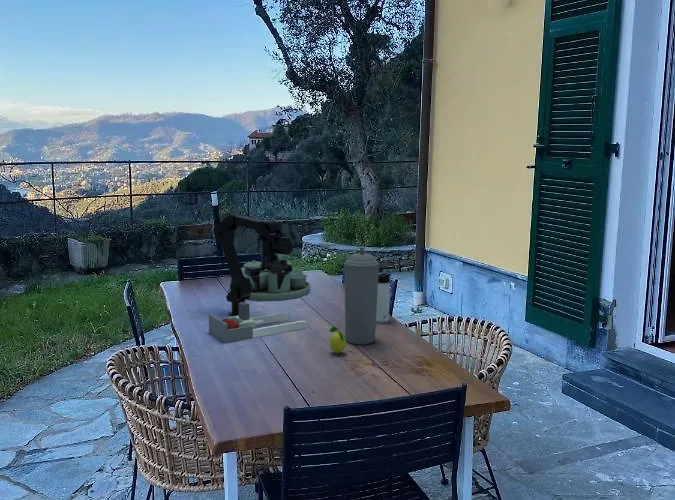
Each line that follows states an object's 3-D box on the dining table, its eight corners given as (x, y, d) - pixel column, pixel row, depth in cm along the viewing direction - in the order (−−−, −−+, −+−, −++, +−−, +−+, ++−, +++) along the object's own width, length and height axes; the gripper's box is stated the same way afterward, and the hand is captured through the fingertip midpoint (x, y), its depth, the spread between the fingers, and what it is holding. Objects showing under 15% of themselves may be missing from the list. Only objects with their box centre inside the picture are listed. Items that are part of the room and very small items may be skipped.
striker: (229, 329, 230) (228, 301, 228) (257, 324, 237) (256, 297, 235) (240, 336, 222) (239, 307, 220) (269, 331, 229) (269, 303, 227)
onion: (235, 327, 230) (215, 332, 226) (235, 314, 228) (215, 319, 224) (241, 335, 226) (221, 340, 222) (241, 322, 224) (221, 327, 219)
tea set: (324, 289, 302) (325, 256, 299) (276, 306, 268) (276, 270, 265) (262, 279, 322) (262, 249, 319) (210, 294, 288) (209, 260, 285)
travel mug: (388, 324, 242) (390, 275, 238) (372, 323, 243) (373, 274, 240) (390, 320, 248) (391, 272, 244) (374, 318, 249) (375, 271, 246)
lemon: (329, 350, 210) (329, 322, 209) (345, 350, 210) (346, 322, 208) (328, 356, 204) (328, 328, 202) (345, 356, 203) (346, 328, 202)
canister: (381, 345, 216) (383, 249, 210) (346, 346, 214) (347, 250, 208) (373, 334, 228) (375, 243, 222) (340, 335, 226) (341, 244, 220)
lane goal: (208, 332, 228) (208, 314, 227) (286, 319, 247) (286, 302, 246) (225, 343, 216) (224, 324, 215) (305, 328, 235) (306, 310, 234)
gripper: (256, 257, 226) (257, 297, 229) (299, 253, 237) (299, 291, 240) (243, 253, 236) (244, 291, 238) (285, 249, 246) (285, 286, 249)
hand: (268, 290), depth 241 cm, fingers open, 9 cm apart
